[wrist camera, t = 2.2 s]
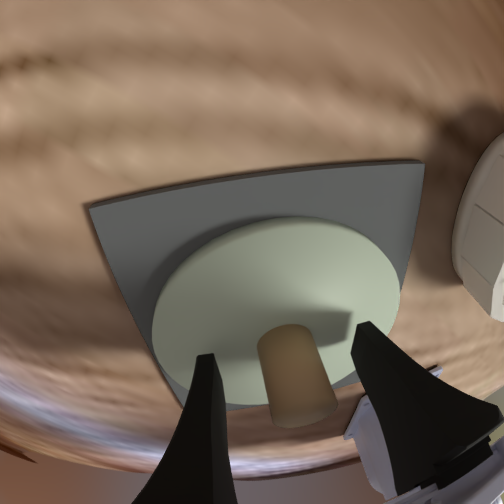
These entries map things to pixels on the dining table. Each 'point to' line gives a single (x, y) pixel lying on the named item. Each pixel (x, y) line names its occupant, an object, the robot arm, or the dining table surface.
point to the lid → (276, 312)
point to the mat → (246, 212)
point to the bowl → (483, 232)
